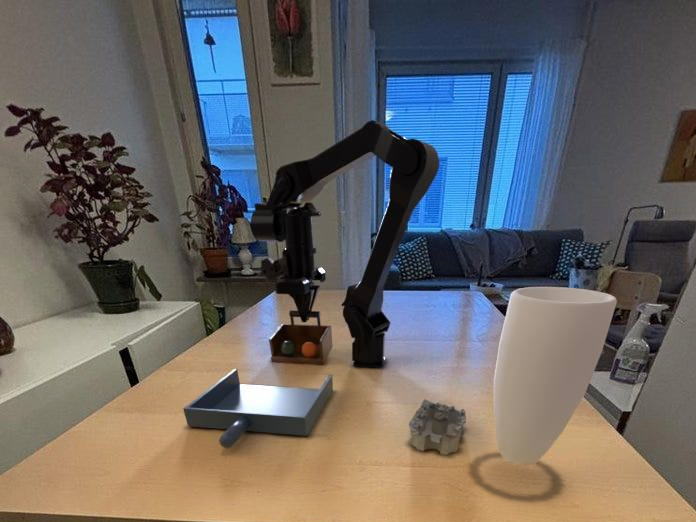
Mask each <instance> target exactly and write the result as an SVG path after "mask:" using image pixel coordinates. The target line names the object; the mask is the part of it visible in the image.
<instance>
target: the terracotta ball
mask: <svg viewBox="0 0 696 522" xmlns="http://www.w3.org/2000/svg"><path fill="white" fill-rule="evenodd" d="M302 353H303V355H304V356H305V357H307V358H312V357H314V356H315V355H316V353H317V347H316V345H315V344H314V343H312V342H306V343H305V344H304V345H303V346H302Z"/></svg>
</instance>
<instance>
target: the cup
mask: <svg viewBox="0 0 696 522" xmlns="http://www.w3.org/2000/svg"><path fill="white" fill-rule="evenodd" d="M508 300H509V301H508V304H507V308H506V314H505V317H504V321H503V324H502V325H503V326H502V330H501V334H500V338H499V343H498V350H497V356H496V363H495V370H494V375H493V419H494V428H495V435H496V443H497V447H498V450H499V455H500V456H501V458H502V459H503V460H505V461H507V462H508V463H510V464H514V465H518V466H532V465H535V464H537V463H538V462H539V461H540V460H541V459H542V458H543V457H544V456H545V455H546V454H547V452H549V450H550V449H551V448H552V446H553V445H554V444H555V442H557V440H558V439H559V437H561V435H562V434H563V432H564V430H565V429H566V427H567V425H568V423H569V422H570V421H571V418H572V417H573V415H574V414H575V412H576V410H577V409H578V407H579V405H580V403H581V402H582V400H583V398H584V396H585V395H586V393H587V390H588V387H589V385H590V383H591V380H592V377H593V375H594V373H595V370H596V367H597V366H598V362H599V360H600V357H601V355H602V352H603V349H604V345H605V343H606V339H607V336H608V332H609V329H610V326H611V322H612V319H613V316H614V312H615V309H616V306H617V303H618V300H617V298H616V297H615V296H613V295H612V294H610V293H606V292H602V291H597V290H590V289H585V288H576V287H575V288H574V287H564V286H527V287H523V288H522V287H519V288H517V289H515V290H513V291H512V292H511V293H510V296H509V299H508Z"/></svg>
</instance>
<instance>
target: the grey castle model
mask: <svg viewBox="0 0 696 522" xmlns="http://www.w3.org/2000/svg"><path fill="white" fill-rule="evenodd" d="M466 414H467V413H466V410H465V409H464V408H462V409H461V410H458V409H456V408H455V406H454V405H450V406H448V405H447V404H441V403H440V402H436V403H434V402H431V401H430V400H428V399H423V401H422V402H421V404H420V405H419V408H418V409H417V410H416V411H415V413H414V415H413V416H412V418H411V420H409V422H408V426H409V427H408V428H409V430H410V434H411V435H410V445H411V446H413V447H415V448H416V450H418V451H420V452H424V451H425V450H430V449H431V450H437V451H438V452H439V453H440V454H441V455H445V456H447V455H448V454H450V453H456V452H458V447H459V445H460V439H461V436H462V432H463V428H464V426H465V425H466V424H467V415H466Z"/></svg>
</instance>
